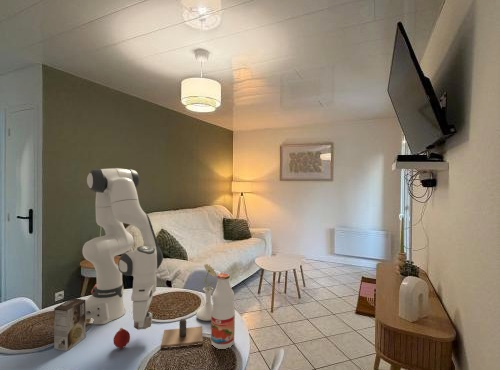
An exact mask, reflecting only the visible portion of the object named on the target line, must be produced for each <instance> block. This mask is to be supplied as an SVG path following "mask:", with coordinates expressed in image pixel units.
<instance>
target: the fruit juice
mask: <svg viewBox="0 0 500 370" xmlns="http://www.w3.org/2000/svg"><path fill="white" fill-rule="evenodd" d="M216 277H217V283H216V286H215V289H213V291H212V293H211V300H212V301H211V302H212V305H213V306H212V311H211V320H210V321H211V323H210V326H211V329H210V343H211V344H210V345H211V346H212V345H213V346H214V347H216V348H218V349H226V348H228V347H230V346H232V345H233V346H234V344H235V328H236V327H235V325H236V322H235V318H236V314H235V312H236V310H235V309H236V308H235V305H234V301H235V293H234V290H233V289H232V286H231V283H230V278H231V277H230V273H227V272H219V273H218V274H217V275H216ZM213 346H212V347H213ZM233 346H232V347H233ZM214 347H213V348H214ZM218 349H217V350H218ZM226 350H227V349H226Z"/></svg>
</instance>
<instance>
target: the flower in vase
mask: <svg viewBox="0 0 500 370" xmlns="http://www.w3.org/2000/svg"><path fill="white" fill-rule="evenodd" d="M203 267H204V269H205V271H206V272H207V274H206V277H205V278H203V279H202V280H203V282H204V283H205V285H206V286H205V287H203V288H202V290H203V291H204V294H205V303H204V305H203V306H201V307H200V308H199V309H198V310H197V312H196V314H195V316H196V317H197V319H199V321H200V320H201V321H204V322H205V321H207V322H208V321H211V311H212V306H213V303H212V301H211V300H212V294H213V292H214V290H215V289H214V287H212V286H210V285H211V284H213V282H210V283H208V282H207V278H208V275H211V276H212V277H217V273H216V271H215V268H213V267H212V266H211V265H210V264H208V263H205V264H203Z"/></svg>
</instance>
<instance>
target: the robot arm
mask: <svg viewBox="0 0 500 370" xmlns="http://www.w3.org/2000/svg"><path fill="white" fill-rule="evenodd" d="M86 183H87V187H88V188H89V189H90V190H91V191H92V192H96V193H95V222H96V224H97V226H100V227H101V228H103V230H104V233H105V235H102V236H97V237H94V238H91V239H90V240H88V241H86V242H85V243H84V244H83V246H82V252H81V253H82V256H83V258H84V259H85V260H86V261H88V262H90V263H91V264H92V266H93V267H94V269H95V273H96V276H95V277H96V284H94V286H93V287H92V289H91V290H90V293H91V295H90V296H89V297H88V298H87V299H84V300H85V313H86V319H90V318H93V319H94V321H93V323H94V324H93V325H106V324H108V323H110V322H111V321H114V320H117V319H120V318H121V317H122V316H124V315H125V313H126V311H127V310H126V307H125V303H124V298H123V297H124V296H123V295H124V283H123V275H124V276H127V277H131V276H132V277H133V280H132V293H131V301H132V318H133V319H132V320H133V323H134V322H139V327H143V326H144V319H145V316H146V314H147V311H149V308H150V305H151V303H152V300H153V295H154V294H155V293H156V291H157V273H156V272H157V270H158V269H159V268H160V267H161V266H162V263H163V260H164V255H163V252H162V250H161V247H160V246H159V243H158V241H157V237H156V235H155V230H154V229H153V224H152V221H151V219H150V216H149V214H147V212H145V211H144V210H143V208H142V207H141V204H140V201H139V196H138V191H137V188H138V186H139V183H140V175H139V173H138V172H137V170H134V169H132V168H127V169H126V168H120V167H114V168H113V167H112V168H95V169H91V170H90V171H89V172H88V173H87V178H86ZM125 224H126V225H130V226H133V227H135V228H137V229H138V230H139V231H140V234H141V237H142V240H143V243H144V244H143V245H139V246H137V247H136V248H135V249H134V250H132V249H133V246H134V244H135V242H134V241H135V240H134V237H133V235H132V234H131V233H130V232H128V231H127V229H126V228H125V226H124V225H125ZM119 255H120V257H119V259H118V262H117V263H118V264H117V263H116V261H115V257H116V256H119Z"/></svg>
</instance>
